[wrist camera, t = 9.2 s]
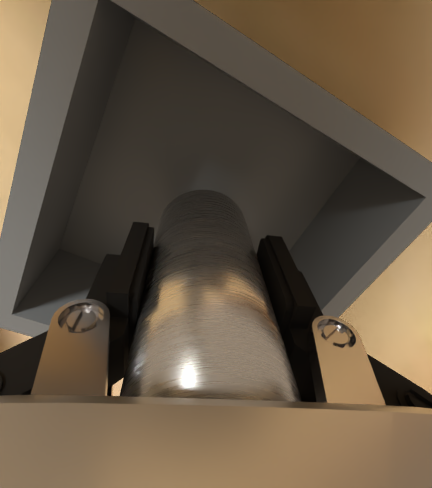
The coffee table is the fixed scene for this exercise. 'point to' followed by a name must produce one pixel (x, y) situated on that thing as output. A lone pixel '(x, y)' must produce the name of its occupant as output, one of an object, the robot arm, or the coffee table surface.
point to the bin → (192, 156)
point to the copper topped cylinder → (207, 311)
